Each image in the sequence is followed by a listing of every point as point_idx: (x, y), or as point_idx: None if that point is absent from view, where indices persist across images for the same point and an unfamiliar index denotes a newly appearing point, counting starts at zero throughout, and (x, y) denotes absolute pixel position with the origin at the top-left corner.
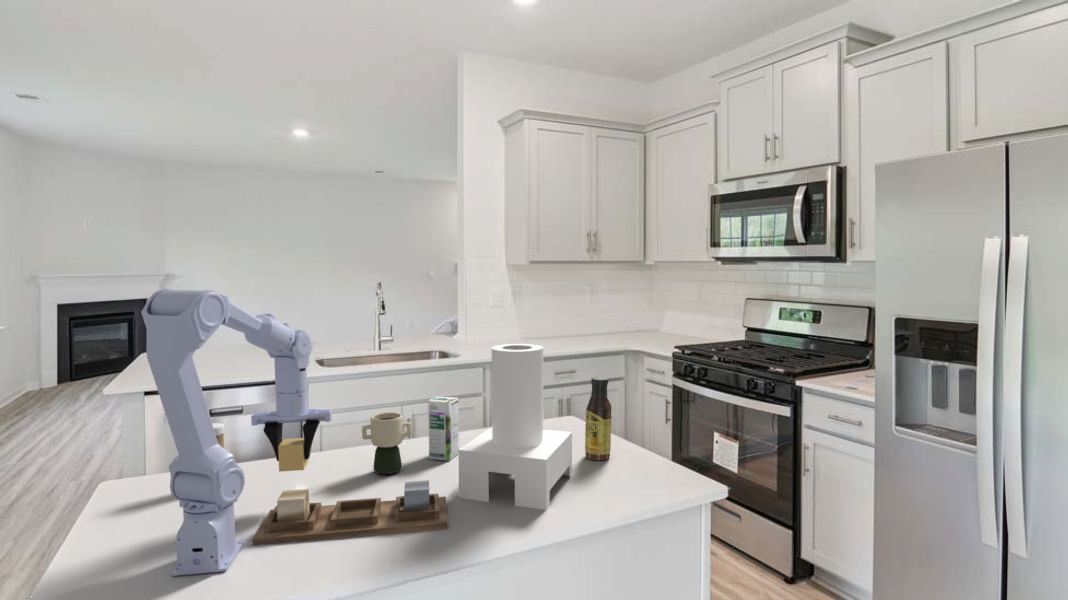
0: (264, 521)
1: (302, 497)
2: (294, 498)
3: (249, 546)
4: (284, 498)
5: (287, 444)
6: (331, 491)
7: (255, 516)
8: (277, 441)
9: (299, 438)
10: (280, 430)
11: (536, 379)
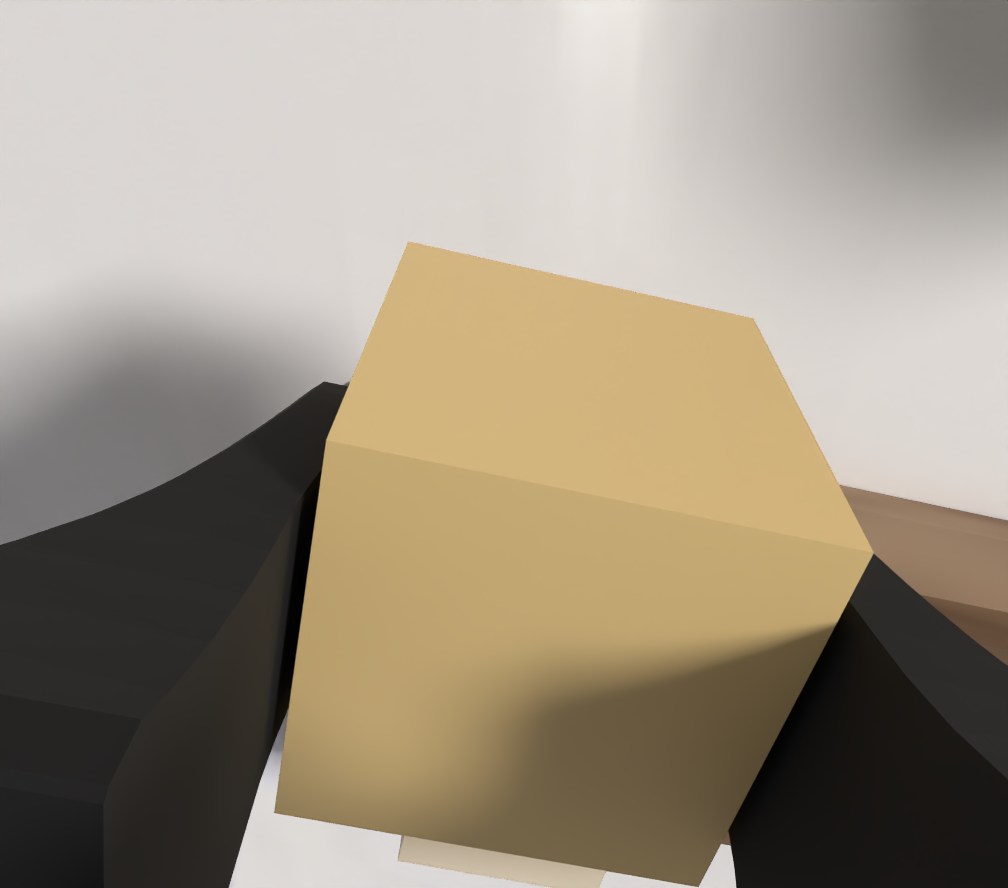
0: None
1: (586, 878)
2: (526, 872)
3: (282, 741)
4: (451, 850)
5: (434, 790)
6: (929, 33)
7: (232, 358)
8: (234, 854)
9: (692, 530)
10: (200, 817)
11: None
